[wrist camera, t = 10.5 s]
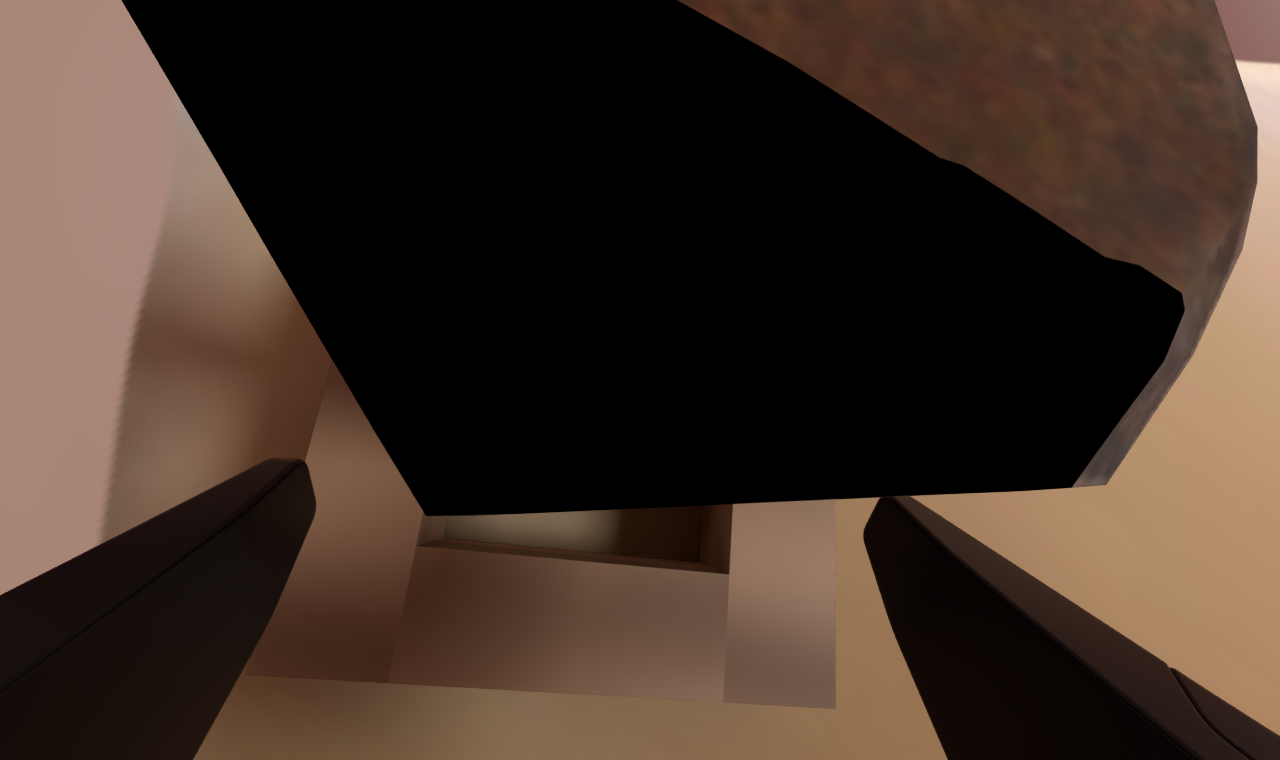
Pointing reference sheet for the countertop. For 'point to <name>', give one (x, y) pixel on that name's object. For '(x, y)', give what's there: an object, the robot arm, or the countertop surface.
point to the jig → (547, 596)
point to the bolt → (733, 232)
